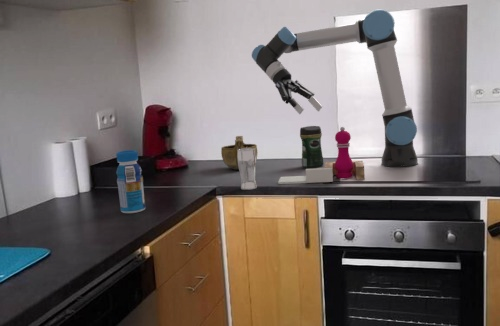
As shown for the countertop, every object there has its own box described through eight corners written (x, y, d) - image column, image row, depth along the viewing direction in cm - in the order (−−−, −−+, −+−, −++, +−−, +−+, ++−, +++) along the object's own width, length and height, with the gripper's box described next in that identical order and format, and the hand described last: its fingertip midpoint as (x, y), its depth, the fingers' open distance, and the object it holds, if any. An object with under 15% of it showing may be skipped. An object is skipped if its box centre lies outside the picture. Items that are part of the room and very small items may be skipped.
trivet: (308, 177, 199) (307, 175, 199) (306, 183, 189) (306, 181, 189) (281, 178, 201) (281, 176, 201) (277, 184, 191) (277, 182, 191)
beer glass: (260, 186, 189) (258, 147, 187) (253, 190, 183) (250, 150, 180) (244, 186, 192) (241, 148, 190) (236, 189, 186) (233, 150, 183)
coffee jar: (318, 164, 230) (316, 124, 227) (325, 166, 223) (323, 125, 220) (299, 166, 227) (297, 126, 225) (306, 169, 220) (304, 127, 217)
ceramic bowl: (259, 171, 222) (256, 138, 220) (221, 174, 222) (218, 141, 220) (257, 163, 244) (255, 133, 242) (223, 166, 244) (221, 136, 242)
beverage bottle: (115, 213, 162) (108, 153, 159) (129, 207, 170) (123, 149, 167) (136, 214, 159) (130, 153, 156) (151, 207, 167) (144, 149, 164)
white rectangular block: (332, 180, 188) (332, 167, 188) (332, 181, 186) (332, 168, 186) (306, 181, 190) (305, 168, 189) (306, 182, 188) (305, 169, 187)
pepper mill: (352, 174, 198) (350, 125, 195) (354, 178, 191) (352, 127, 188) (334, 175, 199) (332, 126, 196) (336, 179, 192) (333, 128, 189)
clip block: (362, 172, 202) (362, 160, 201) (364, 179, 188) (364, 166, 187) (325, 174, 204) (325, 162, 204) (325, 180, 191) (324, 168, 190)
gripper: (265, 68, 193) (298, 105, 186) (300, 67, 212) (332, 101, 204) (255, 82, 197) (288, 119, 190) (291, 80, 216) (322, 114, 209)
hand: (311, 110), depth 197 cm, fingers open, 13 cm apart
